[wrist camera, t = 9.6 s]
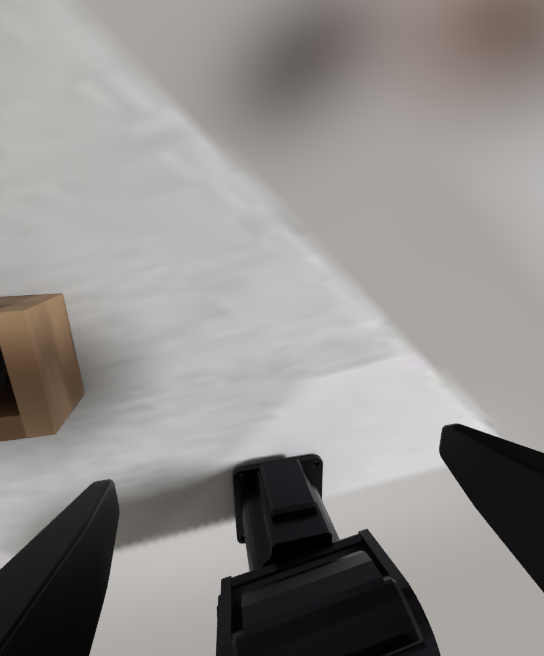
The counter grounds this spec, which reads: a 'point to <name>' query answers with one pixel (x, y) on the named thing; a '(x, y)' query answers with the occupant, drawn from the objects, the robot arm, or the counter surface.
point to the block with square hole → (37, 366)
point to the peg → (3, 371)
